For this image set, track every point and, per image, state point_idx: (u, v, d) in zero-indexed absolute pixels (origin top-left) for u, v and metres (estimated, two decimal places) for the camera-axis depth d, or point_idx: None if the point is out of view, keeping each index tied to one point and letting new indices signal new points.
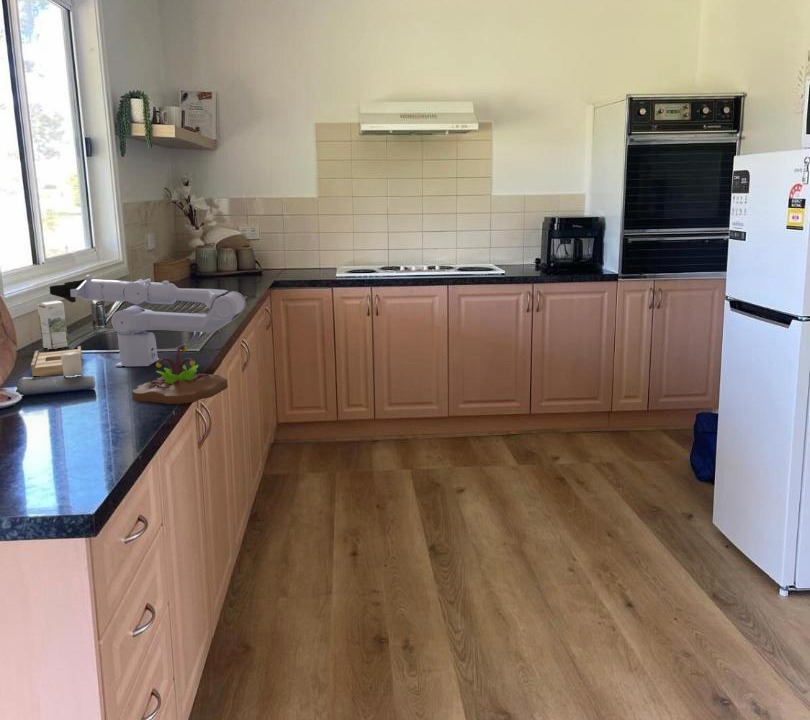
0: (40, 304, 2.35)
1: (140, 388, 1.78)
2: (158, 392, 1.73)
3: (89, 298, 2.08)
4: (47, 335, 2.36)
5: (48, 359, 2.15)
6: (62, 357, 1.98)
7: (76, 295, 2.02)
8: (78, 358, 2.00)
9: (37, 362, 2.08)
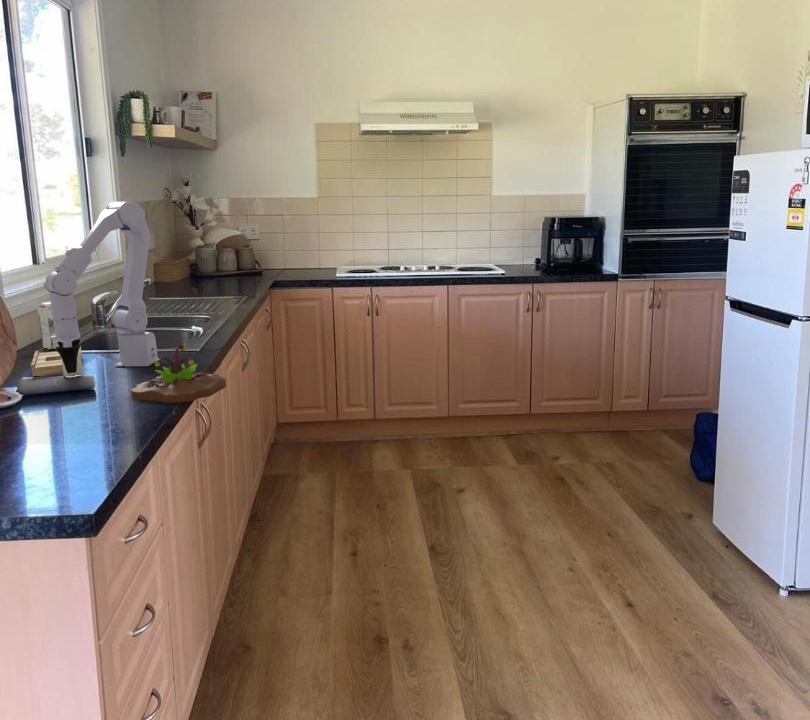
0: (40, 304, 2.35)
1: (139, 387, 1.79)
2: (157, 391, 1.74)
3: (75, 333, 1.98)
4: (47, 335, 2.36)
5: (48, 359, 2.15)
6: None
7: (69, 340, 1.93)
8: (78, 358, 2.00)
9: (37, 362, 2.08)
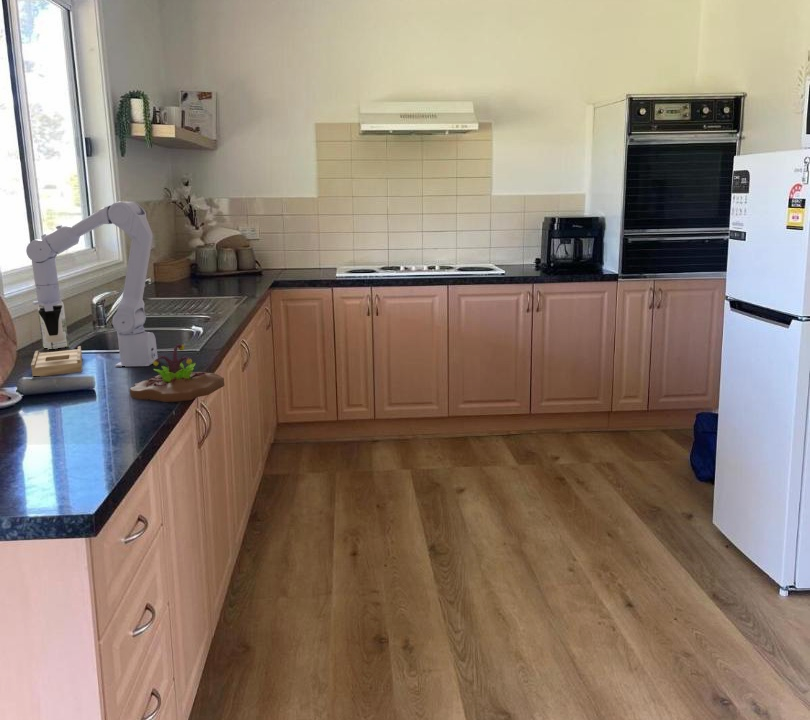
0: None
1: (138, 385, 1.80)
2: (155, 389, 1.75)
3: (57, 298, 2.08)
4: None
5: (48, 359, 2.15)
6: None
7: (50, 304, 2.03)
8: (59, 323, 2.10)
9: (37, 362, 2.08)
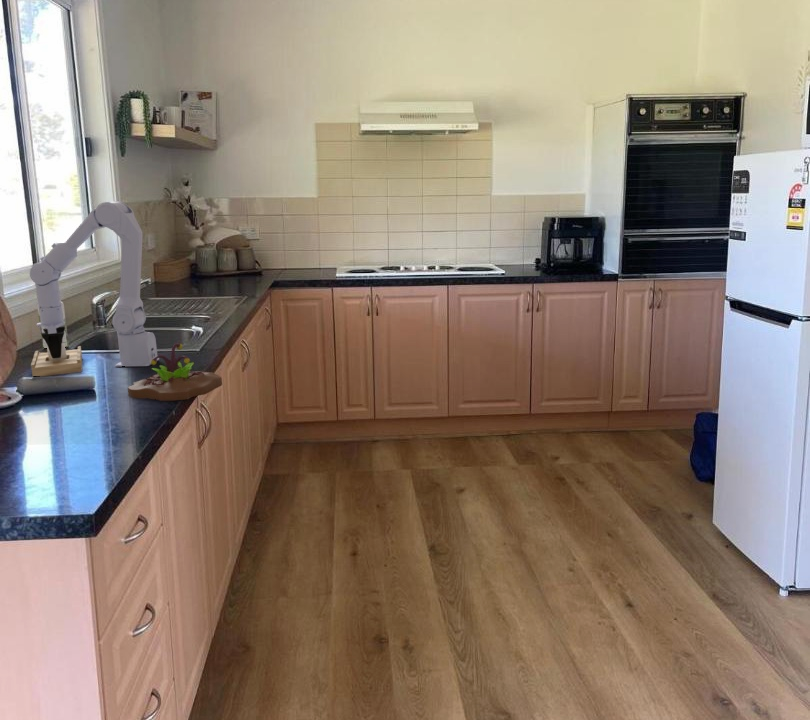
0: None
1: (136, 384, 1.81)
2: (152, 388, 1.76)
3: (60, 320, 2.09)
4: None
5: (48, 359, 2.15)
6: (48, 348, 2.10)
7: (53, 327, 2.04)
8: (63, 349, 2.11)
9: (37, 362, 2.08)
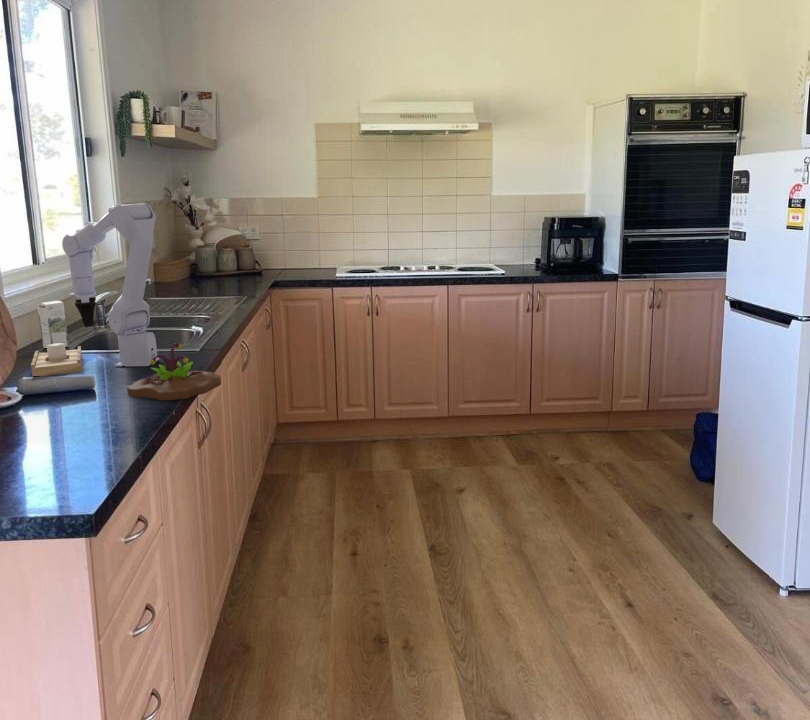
0: (40, 304, 2.35)
1: (135, 384, 1.82)
2: (152, 388, 1.76)
3: (92, 291, 2.17)
4: (47, 335, 2.36)
5: (48, 359, 2.15)
6: (47, 348, 2.10)
7: (86, 296, 2.12)
8: (62, 349, 2.11)
9: (37, 362, 2.08)
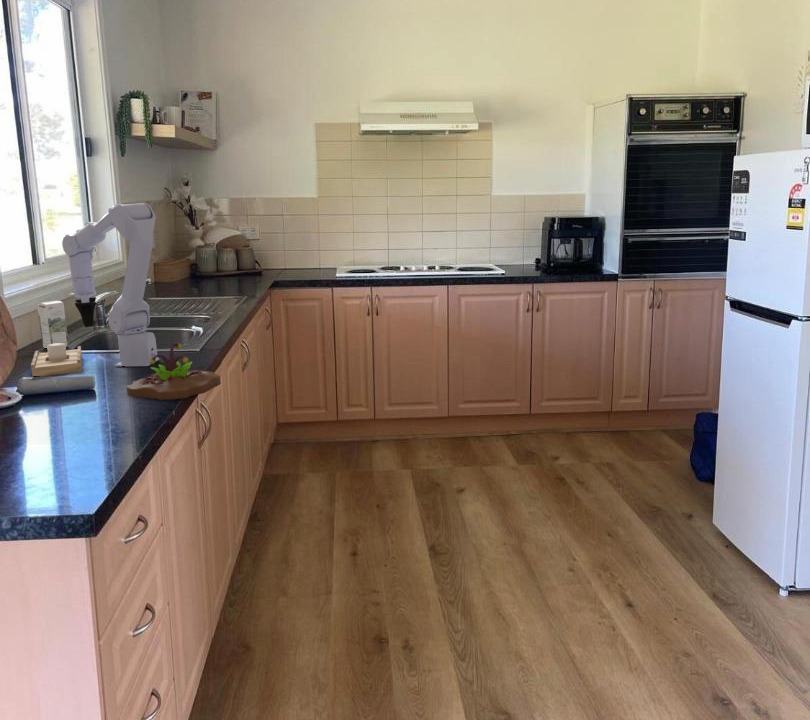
0: (40, 304, 2.35)
1: (135, 383, 1.82)
2: (151, 387, 1.77)
3: (92, 291, 2.17)
4: (47, 335, 2.36)
5: (48, 359, 2.15)
6: (48, 347, 2.10)
7: (86, 296, 2.12)
8: (63, 349, 2.11)
9: (37, 362, 2.08)
